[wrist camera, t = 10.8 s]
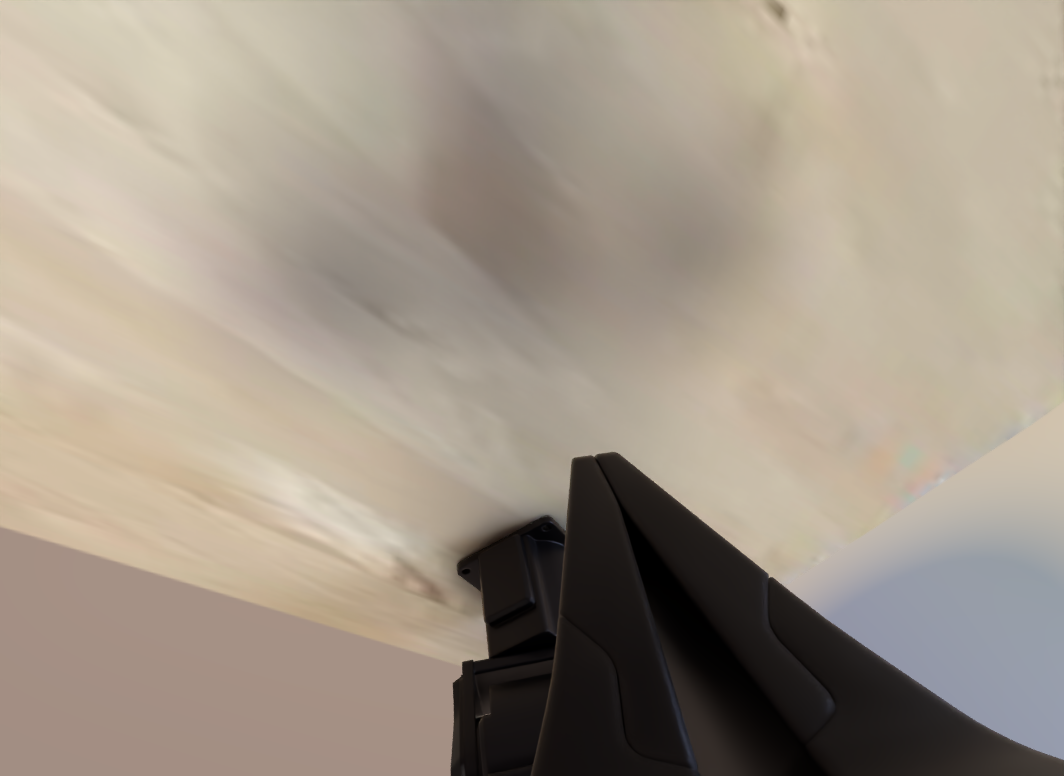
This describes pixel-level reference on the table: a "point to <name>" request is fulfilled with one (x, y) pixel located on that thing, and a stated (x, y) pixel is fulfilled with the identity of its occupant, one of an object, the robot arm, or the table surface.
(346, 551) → the table surface
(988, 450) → the table surface
